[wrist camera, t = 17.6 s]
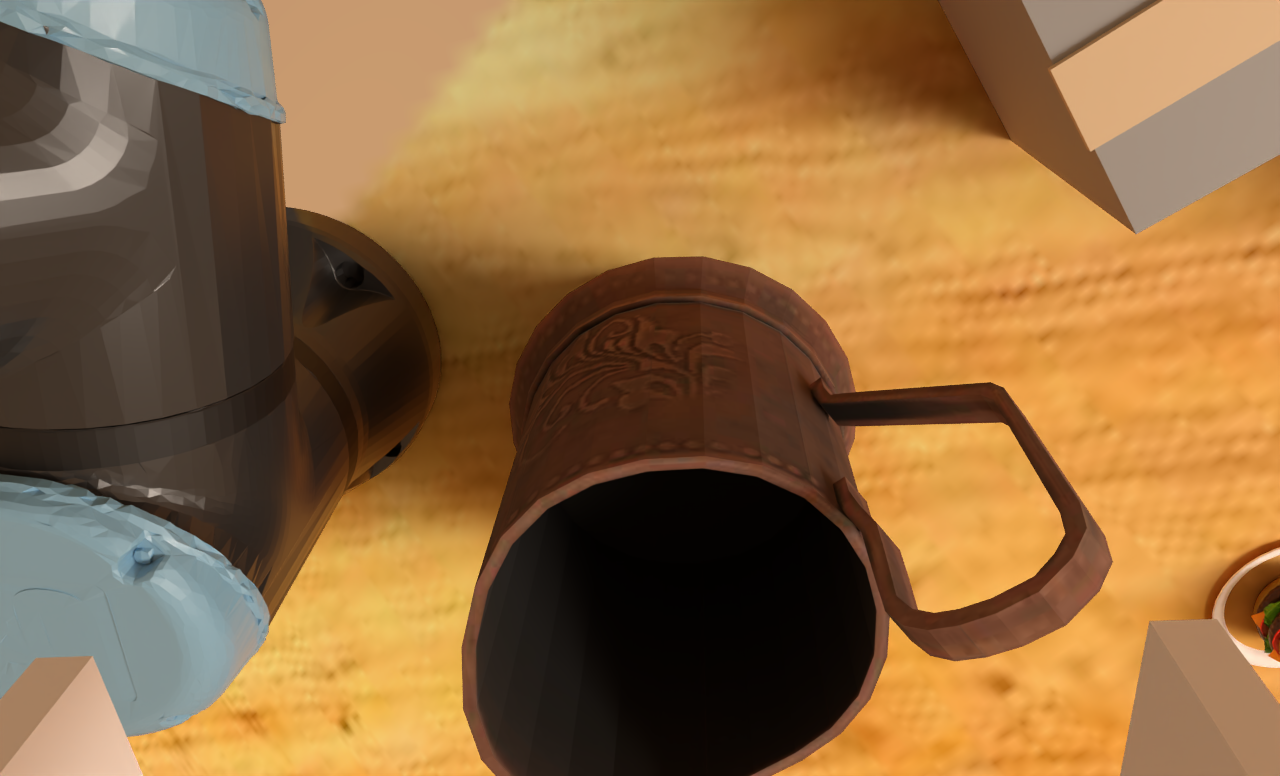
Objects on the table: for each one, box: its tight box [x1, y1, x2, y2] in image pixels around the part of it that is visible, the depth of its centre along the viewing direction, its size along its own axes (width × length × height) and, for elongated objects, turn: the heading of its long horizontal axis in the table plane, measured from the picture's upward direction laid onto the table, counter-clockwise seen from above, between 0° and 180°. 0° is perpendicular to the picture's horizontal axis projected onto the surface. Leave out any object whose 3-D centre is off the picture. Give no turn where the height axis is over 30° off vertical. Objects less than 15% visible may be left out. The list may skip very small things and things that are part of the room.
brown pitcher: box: [462, 257, 1113, 776], centre depth 40 cm, size 18×24×25 cm
